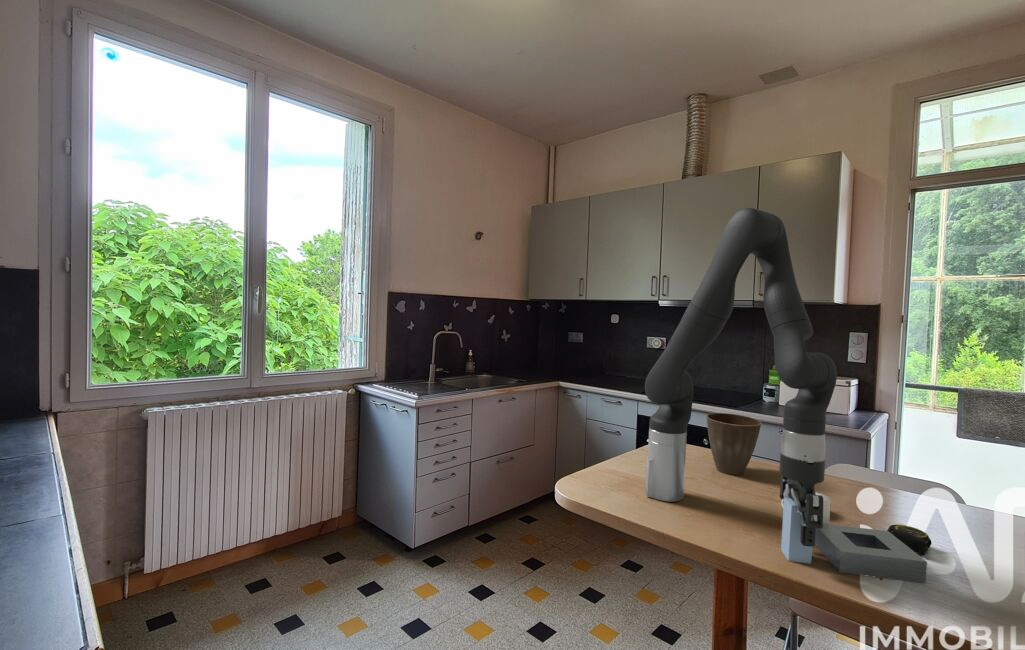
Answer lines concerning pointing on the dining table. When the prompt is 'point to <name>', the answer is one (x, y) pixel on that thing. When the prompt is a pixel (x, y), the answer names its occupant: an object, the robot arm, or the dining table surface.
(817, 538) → the socket block
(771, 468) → the dining table surface
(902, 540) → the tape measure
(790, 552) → the square bit
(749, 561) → the dining table surface
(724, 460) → the plant pot
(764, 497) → the dining table surface
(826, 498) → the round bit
